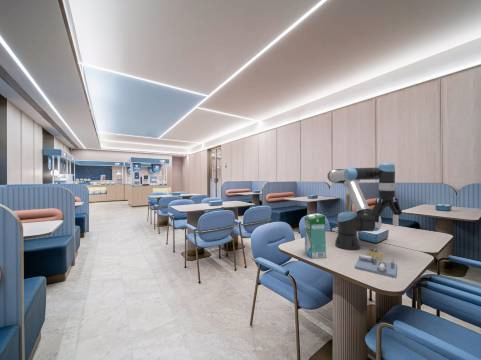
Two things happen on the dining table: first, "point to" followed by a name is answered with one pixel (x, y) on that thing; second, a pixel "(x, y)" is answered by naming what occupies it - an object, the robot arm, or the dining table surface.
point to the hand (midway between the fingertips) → (386, 226)
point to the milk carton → (315, 236)
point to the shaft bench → (376, 266)
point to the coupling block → (374, 253)
